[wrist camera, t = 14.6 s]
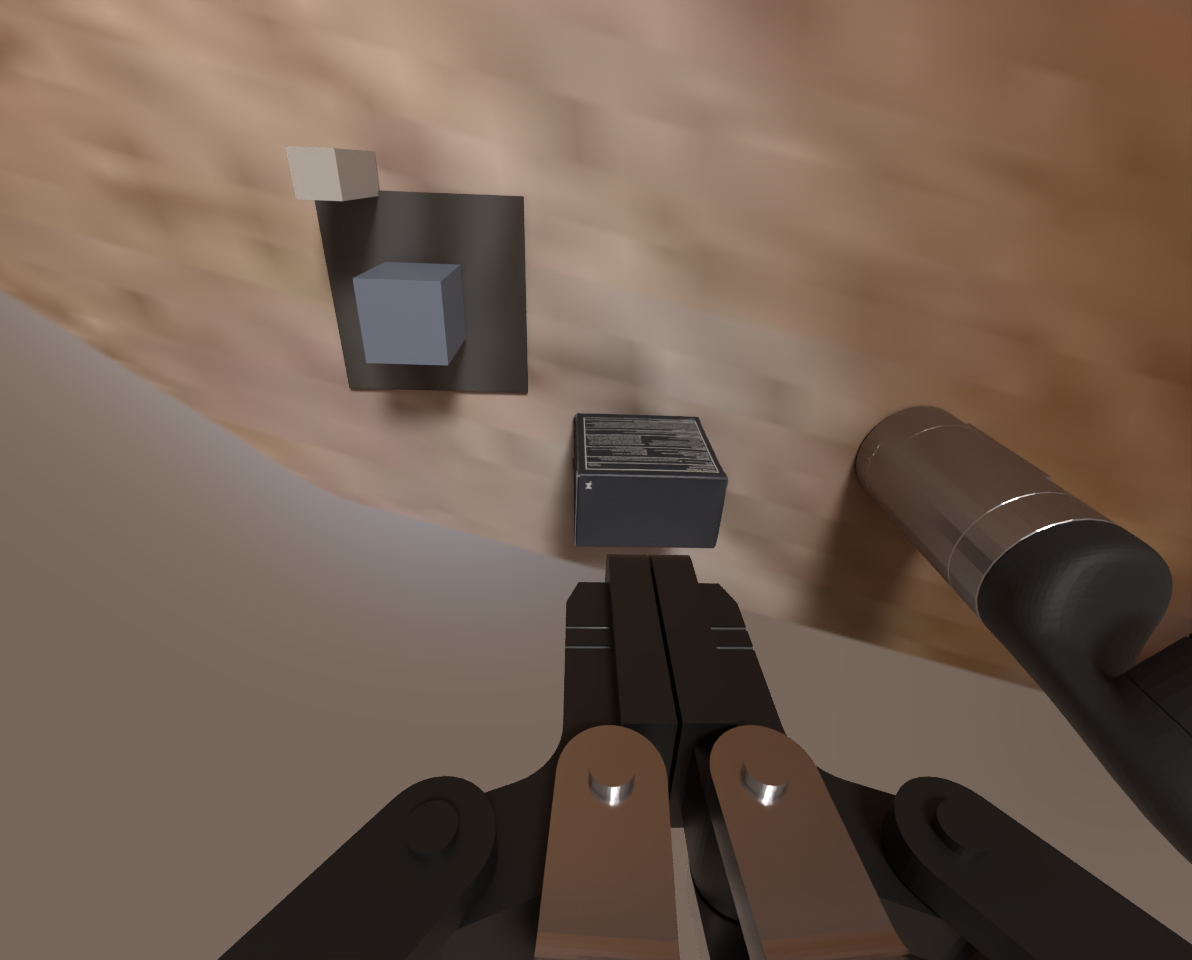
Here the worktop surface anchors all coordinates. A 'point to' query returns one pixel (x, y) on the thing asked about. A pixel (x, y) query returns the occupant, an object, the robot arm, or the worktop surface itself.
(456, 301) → the blue-grey block
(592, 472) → the small box
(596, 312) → the worktop surface
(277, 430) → the worktop surface
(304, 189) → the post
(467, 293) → the dark grey square tray
